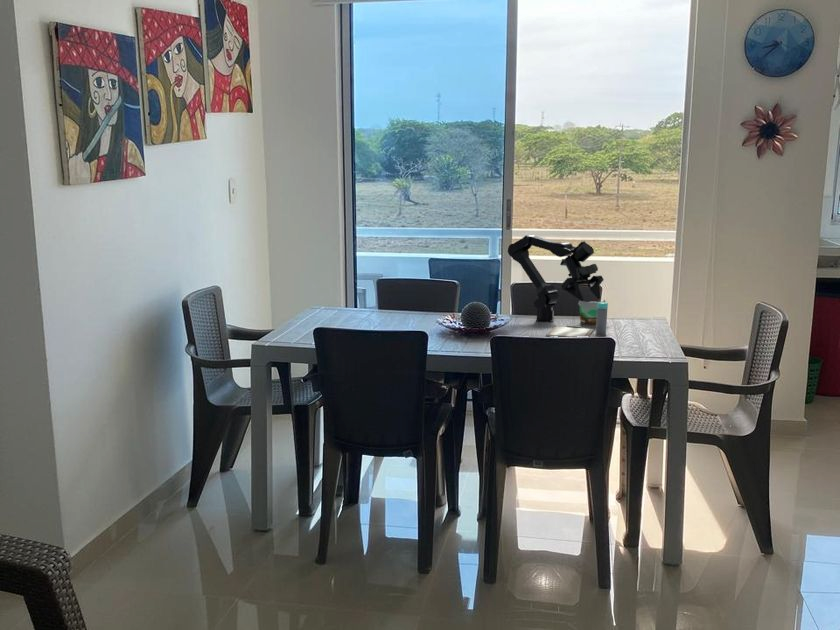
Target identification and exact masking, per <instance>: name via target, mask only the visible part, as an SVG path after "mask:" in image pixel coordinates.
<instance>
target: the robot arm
mask: <svg viewBox="0 0 840 630" xmlns="http://www.w3.org/2000/svg"><path fill="white" fill-rule="evenodd" d="M532 246H533V247H536V248H540V249H543V250H546V251H549V252H551V254H552V255H554V256H556V257H558V258H561V261H560V266H565V267H566V269H567V271H568V275H567V276H568V277H567V278H566V279H565V280H564V281H563V282H562V283H561V285H560V287H561V289H562V291H565V292H566V293H569V294H570V295H572V296H573V297H575V298H576V299H577V300H580V301H584V297H583V295H582V293H581V291H580V288H579V286H582V285H583V286H584V285H587V286H588V288H589V291H590V292H591V293H592V294H593V295H594V297H595V298H596V299H597V300H601V292H600V291H601V288H600V286H601V284H602V283H603V282H604V280H605V279H604V278H603V275H599V274H598V275H597V274H596V273H597V272H598V271H599V267H598V266H597V264H596V263H592V264H590V265H586V266H585V265H582V263H584V262H585V261H586V260H588V259H589V258H590V257H591V256H593V254H595V251H594V248H593V247H592V246H591V245H590V243H589V244H588V243H587V242H586V241H585V240H584V241H583V240H582V241H581V242H579V243H578V245H577V246H575V245H573V244H572V243H571V242H568V241H554V240H550V239H546V238H543V237H540V236H536V235H534V234H527V235H525V236H523V237H522V238H520V239H519V240H517V241H515V242H513V243H511V244H509V246H508V248H507V254H508V255H509V256H510V257H511V259H512V260H513V261H515V262H517V264H520V266H521V268H522V269H523V271H524V272H525V274H526V276H527V277H528V278H529V280H530V281H531V283H532V284H533V286H534V287H535V289H536V295H537V299H536V300H535V301H534V302H533V305H534V308H536V319H535V322H541V323H542V322H543V323H552V321H554V316H555V313H554V312H555V311H554V309H553V308H554V307H556V304H557V302H558V301H559V297H560V295H559V293H558V292H559V291H558V290H557V289H556V287H555V285H554V284H552V283H551V284H548V283H547V281H546V280H545V279H544V277H543V276H542V274H541V273H540V271H538V269H537V267H536V265H535V264H534V262H533V261H532V260H531V258H530V253H529V250H530V249H531V248H532ZM563 257H565V258H563ZM593 274H596V275H593ZM592 275H593V276H592ZM590 277H591V278H590Z"/></svg>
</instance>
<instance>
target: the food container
mask: <svg viewBox="0 0 840 630" xmlns="http://www.w3.org/2000/svg"><path fill="white" fill-rule="evenodd" d="M578 300H579V299H578ZM598 302H599V301H593V300H591V301H584V300H583V301H580V300H579V301H578V304H577V305H578V306H579V321H580V324H582V325H586V326H596V321H597V303H598ZM603 302H605V303H607V302H606V300H605V299H603Z"/></svg>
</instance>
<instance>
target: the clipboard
mask: <svg viewBox="0 0 840 630" xmlns="http://www.w3.org/2000/svg"><path fill="white" fill-rule="evenodd" d="M594 331H595V329H594V328H587V327H586V328H585V327H582V326H581V325H569V324H567V325H566V326H560V325H555V326H554V327H553V328H551V329H550V330H549V331H548V333H547V334H545V337H546V336H558V337H577V336H589V335H590V334H591V335H592V333H593V332H594ZM591 335H590V336H591ZM590 336H589V337H590Z"/></svg>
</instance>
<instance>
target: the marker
mask: <svg viewBox="0 0 840 630" xmlns="http://www.w3.org/2000/svg"><path fill="white" fill-rule="evenodd" d="M597 302H598V303H597V321H596V325H595V336H597V335H600V336H599V337H605V336H607V323H608V307H609V302H606V301H605V302H606V303H605V302H604V301H597Z"/></svg>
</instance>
